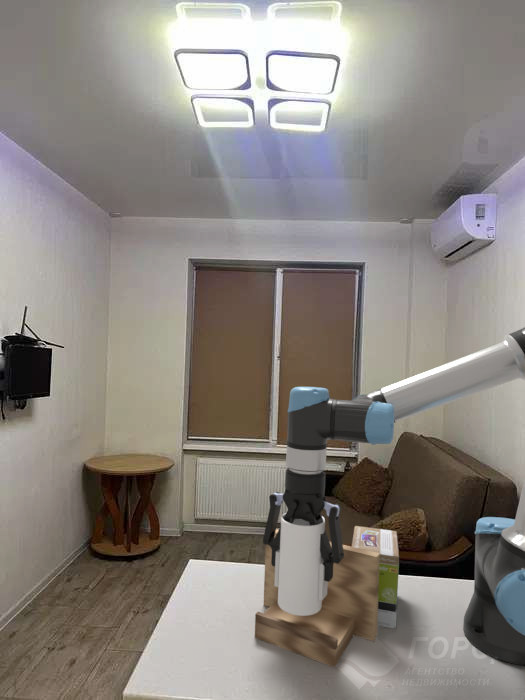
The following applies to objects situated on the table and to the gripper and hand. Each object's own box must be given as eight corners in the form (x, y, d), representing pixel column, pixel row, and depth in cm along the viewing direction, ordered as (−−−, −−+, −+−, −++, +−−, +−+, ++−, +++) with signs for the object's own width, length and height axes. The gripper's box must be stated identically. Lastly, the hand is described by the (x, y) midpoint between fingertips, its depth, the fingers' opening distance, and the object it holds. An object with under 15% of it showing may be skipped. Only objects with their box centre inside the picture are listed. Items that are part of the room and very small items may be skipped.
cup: (324, 596, 89) (327, 513, 89) (318, 619, 81) (321, 528, 81) (283, 589, 91) (286, 508, 92) (273, 610, 83) (276, 522, 84)
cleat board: (377, 636, 89) (379, 553, 90) (357, 675, 78) (360, 580, 78) (267, 601, 101) (270, 527, 101) (236, 631, 89) (239, 548, 90)
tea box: (397, 630, 91) (399, 555, 92) (346, 621, 94) (348, 548, 94) (395, 593, 106) (397, 529, 106) (351, 586, 109) (353, 523, 109)
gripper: (366, 473, 85) (361, 597, 85) (265, 457, 95) (260, 567, 95) (353, 483, 78) (348, 616, 78) (247, 464, 88) (242, 583, 88)
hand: (300, 589), depth 86 cm, fingers closed on cup, 8 cm apart
